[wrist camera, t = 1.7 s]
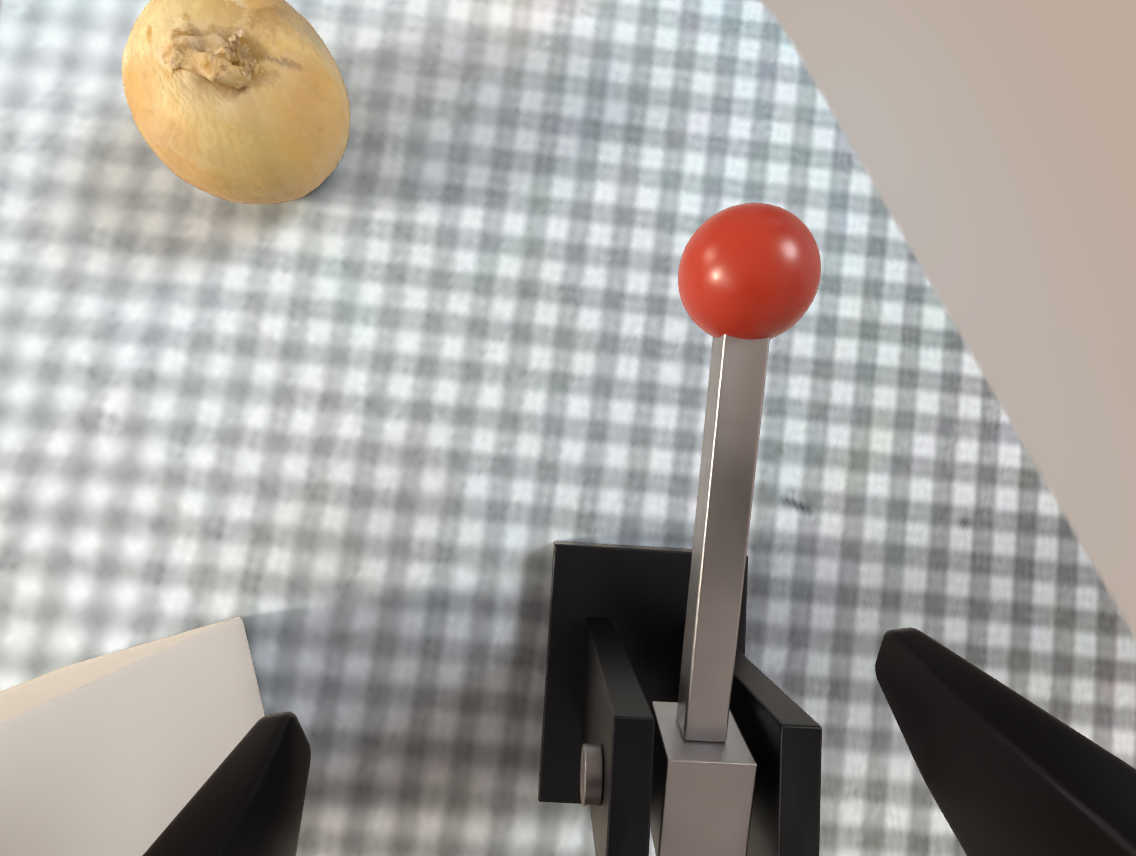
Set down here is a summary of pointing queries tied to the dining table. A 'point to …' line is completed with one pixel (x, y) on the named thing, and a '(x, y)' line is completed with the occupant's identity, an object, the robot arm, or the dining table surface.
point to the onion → (237, 97)
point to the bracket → (652, 673)
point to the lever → (724, 518)
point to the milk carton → (121, 742)
